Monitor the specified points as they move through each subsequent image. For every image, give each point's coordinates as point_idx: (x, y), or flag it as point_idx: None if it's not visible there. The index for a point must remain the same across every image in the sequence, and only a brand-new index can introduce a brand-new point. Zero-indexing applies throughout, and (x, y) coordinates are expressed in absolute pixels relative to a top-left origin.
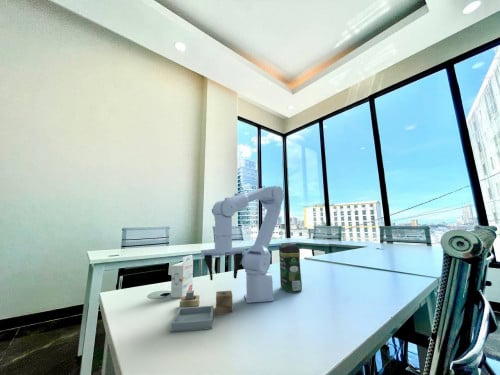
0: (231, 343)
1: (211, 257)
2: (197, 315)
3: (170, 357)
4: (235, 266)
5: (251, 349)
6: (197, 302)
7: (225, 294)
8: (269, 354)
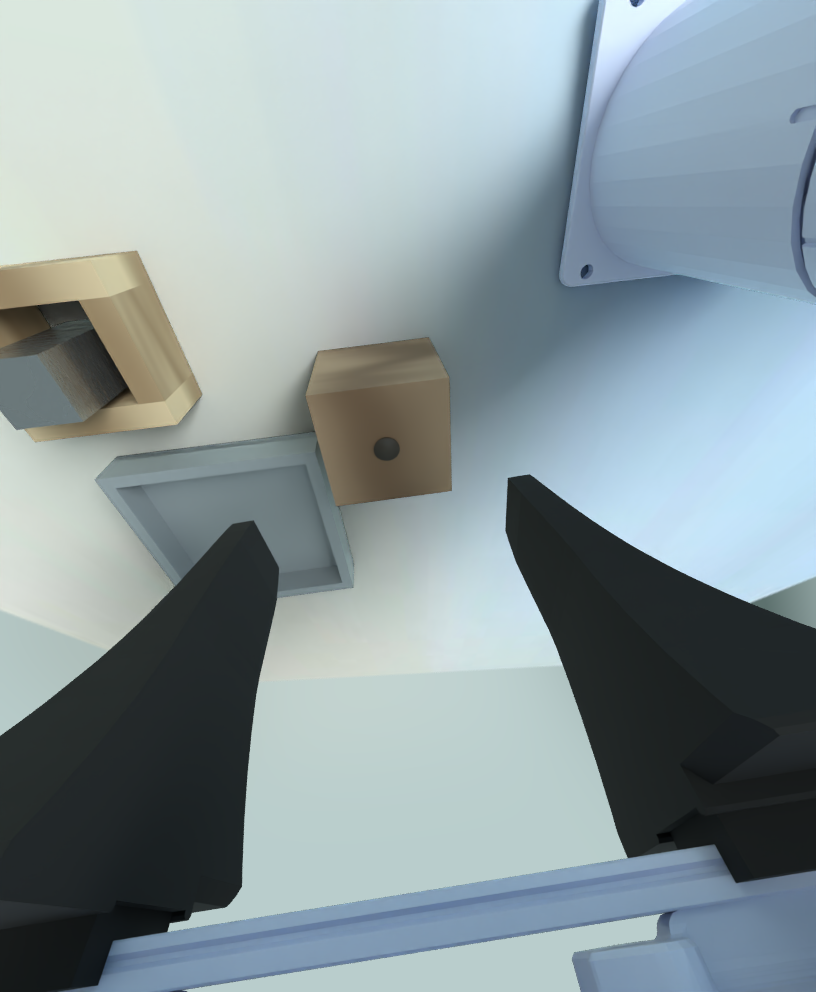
0: (425, 619)
1: (182, 905)
2: (246, 487)
3: (281, 658)
4: (566, 661)
5: (474, 633)
6: (179, 418)
7: (400, 469)
8: (509, 642)
